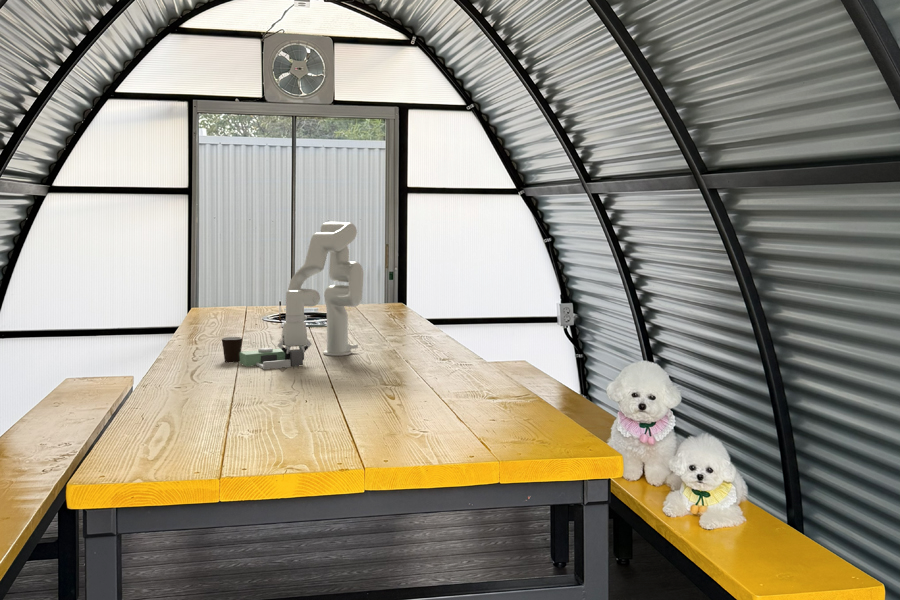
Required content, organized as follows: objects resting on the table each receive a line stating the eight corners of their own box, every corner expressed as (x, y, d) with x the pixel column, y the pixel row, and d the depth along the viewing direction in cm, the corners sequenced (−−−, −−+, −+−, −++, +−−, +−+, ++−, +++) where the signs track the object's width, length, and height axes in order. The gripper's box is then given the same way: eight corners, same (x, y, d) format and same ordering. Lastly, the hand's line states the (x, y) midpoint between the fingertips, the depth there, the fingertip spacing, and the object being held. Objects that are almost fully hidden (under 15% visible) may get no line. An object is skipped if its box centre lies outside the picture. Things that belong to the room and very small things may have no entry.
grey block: (297, 363, 345) (296, 347, 344) (303, 365, 339) (302, 349, 338) (285, 363, 342) (285, 348, 341) (291, 366, 336) (291, 350, 336)
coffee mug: (237, 363, 343) (236, 340, 342) (218, 362, 344) (218, 339, 343) (249, 358, 354) (248, 336, 353) (231, 357, 356) (230, 335, 355)
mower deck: (284, 359, 353) (284, 345, 352) (300, 366, 338) (300, 351, 337) (239, 363, 342) (239, 349, 342) (253, 370, 327) (253, 355, 326)
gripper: (310, 317, 346) (310, 359, 348) (272, 319, 337) (272, 362, 339) (317, 319, 340) (316, 362, 341) (278, 321, 331) (278, 364, 332)
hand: (294, 361), depth 340 cm, fingers closed on grey block, 5 cm apart
